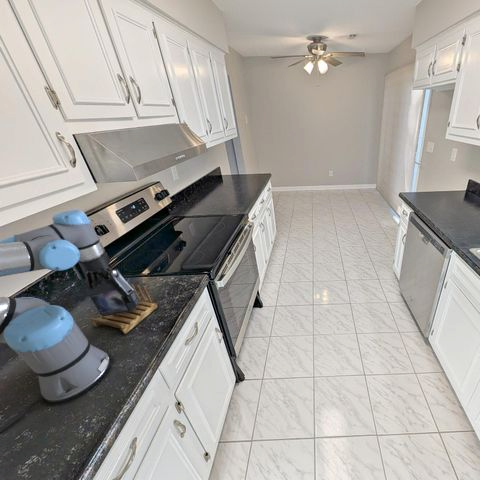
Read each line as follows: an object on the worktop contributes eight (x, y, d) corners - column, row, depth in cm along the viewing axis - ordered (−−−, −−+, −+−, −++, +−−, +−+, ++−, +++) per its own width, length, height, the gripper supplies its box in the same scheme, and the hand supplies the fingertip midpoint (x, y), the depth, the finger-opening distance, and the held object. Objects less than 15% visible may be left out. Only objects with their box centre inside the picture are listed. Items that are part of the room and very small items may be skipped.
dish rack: (125, 334, 89) (112, 311, 84) (94, 326, 93) (80, 304, 88) (157, 306, 101) (147, 285, 96) (129, 301, 105) (118, 280, 100)
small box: (101, 318, 91) (86, 295, 86) (109, 306, 96) (96, 284, 91) (134, 311, 93) (122, 288, 88) (140, 299, 98) (129, 278, 93)
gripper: (129, 253, 84) (153, 303, 94) (78, 247, 90) (106, 294, 100) (107, 266, 77) (135, 318, 87) (54, 258, 84) (86, 307, 94)
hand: (120, 305), depth 94 cm, fingers closed on small box, 12 cm apart
